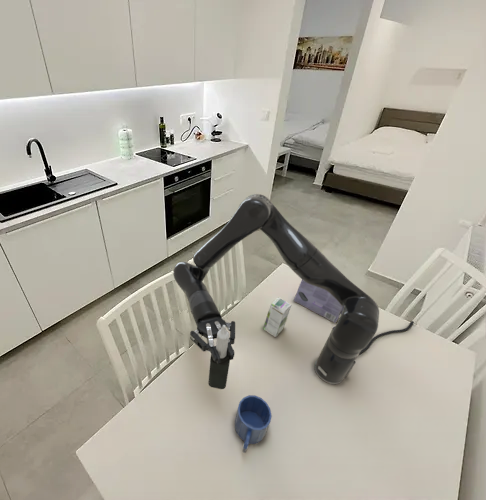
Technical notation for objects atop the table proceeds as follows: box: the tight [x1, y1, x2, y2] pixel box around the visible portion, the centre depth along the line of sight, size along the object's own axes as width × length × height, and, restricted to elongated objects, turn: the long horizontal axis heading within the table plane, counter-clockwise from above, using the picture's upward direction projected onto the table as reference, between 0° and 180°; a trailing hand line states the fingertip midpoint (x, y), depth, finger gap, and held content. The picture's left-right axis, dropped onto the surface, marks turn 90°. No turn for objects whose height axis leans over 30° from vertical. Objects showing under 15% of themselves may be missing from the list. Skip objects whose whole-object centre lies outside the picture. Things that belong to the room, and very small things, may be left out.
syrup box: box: [263, 297, 292, 338], centre depth 107 cm, size 6×6×14 cm
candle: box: [207, 325, 231, 390], centre depth 75 cm, size 5×5×25 cm
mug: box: [234, 394, 273, 454], centre depth 80 cm, size 12×9×10 cm
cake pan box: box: [293, 279, 342, 324], centre depth 115 cm, size 19×5×18 cm, turn 49°
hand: (225, 359), depth 72 cm, fingers closed on candle, 3 cm apart
